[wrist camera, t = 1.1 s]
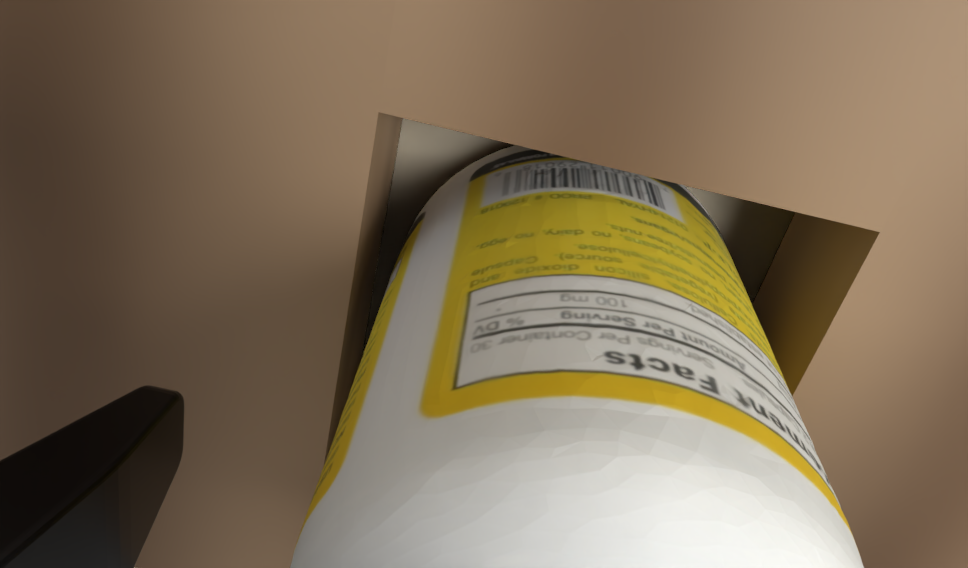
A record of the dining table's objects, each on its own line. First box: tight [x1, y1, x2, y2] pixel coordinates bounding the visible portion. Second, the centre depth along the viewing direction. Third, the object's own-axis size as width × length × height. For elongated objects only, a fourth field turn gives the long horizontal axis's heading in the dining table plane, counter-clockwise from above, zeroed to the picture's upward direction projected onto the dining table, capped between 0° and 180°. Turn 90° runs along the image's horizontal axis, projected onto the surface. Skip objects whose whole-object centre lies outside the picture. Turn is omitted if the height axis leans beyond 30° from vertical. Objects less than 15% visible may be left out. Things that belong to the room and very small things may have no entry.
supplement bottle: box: [290, 145, 864, 568], centre depth 9 cm, size 5×5×10 cm
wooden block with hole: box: [0, 0, 968, 568], centre depth 12 cm, size 20×12×2 cm, turn 78°
